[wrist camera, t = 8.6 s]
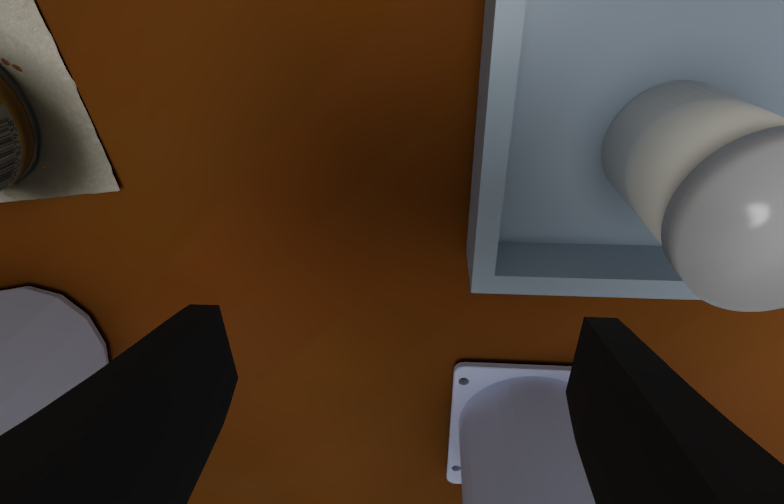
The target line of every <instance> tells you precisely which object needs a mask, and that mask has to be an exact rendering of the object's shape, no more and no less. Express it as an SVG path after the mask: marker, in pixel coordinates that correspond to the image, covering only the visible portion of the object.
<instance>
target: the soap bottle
mask: <svg viewBox="0 0 784 504" xmlns="http://www.w3.org/2000/svg"><path fill="white" fill-rule="evenodd" d="M108 363H109V361H108V355H107V348H106V343H105V341H104V340H103V338H102V336H101V335H100V333H99V331H98V330H97V328H96V327H95V325H94V323H93V322H92V320H91V318H90V317H89V315H88V314H86V313H85V312H84V311H82V310H81V309H80V308H79V307H77V306H76V305H75V304H73V303H72V302H71V301H69V300H68V299H67V298H65V297H64V296H63V295H61V294H57V293H54V292H50V291H46V290H42V289H39V288H35V287H31V286H26V287H20V288H13V289H7V290H1V291H0V435H2V434H3V433H5V432H7V431H8V430H10V429H11V428H13V427H15V426H16V425H18V424H19V423H21V422H23V421H24V420H26V419H27V418H29V417H30V416H32V415H34V414H35V413H37V412H38V411H39V410H41V409H42V408H44V407H45V406H47V405H48V404H50V403H51V402H53V401H54V400H56V399H57V398H59V397H60V396H62V395H63V394H65V393H66V392H68V391H69V390H71V389H72V388H73V387H75V386H76V385H78V384H79V383H81V382H82V381H84V380H85V379H87V378H88V377H90V376H91V375H93V374H94V373H95V372H97V371H98V370H100V369H101V368H102V367H104V366H105V365H106V364H108Z"/></svg>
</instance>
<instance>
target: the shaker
mask: <svg viewBox="0 0 784 504" xmlns="http://www.w3.org/2000/svg"><path fill="white" fill-rule="evenodd" d="M602 166H603V169H604V173H605V175H606V177H607V179H608V180H609V182H610V183H611V185H612V186H613V187H614V188H615V189H616V191H617V192H618V193H619V194H620V195H621V197H622V198H623V199H624V200H625V202H626V203H627V204H628V205H629V206H630V208H631V209H632V210H633V211H634V212H635V214H636V215H637V216H638V217H639V218H640V220H641V221H642V222H643V223H644V224H645V226H646V227H647V228H648V229H649V231H650V232H651V233H652V234H653V235H654V237H655V238H656V239H657V240H658V241H659V243H660V244H661V245H662V248H663V251H664V254H665V256H666V258H667V260H668V262H669V263H670V265H671V266H672V268H673V269H674V270H675V271H676V273H677V274H678V275H679V276H680V278H681V279H682V280H683V281H684V283H685V284H686V285H687V286H688V288H689V289H690V290H691V291H692V292H693V293H694V294H695V295H696V296H698V297H699V298H701V299H702V300H704V301H705V302H707V303H709V304H711V305H714V306H717V307H720V308H723V309H727V310H733V311H743V312H759V311H768V310H775V309H780V308H784V117H782V116H780V115H777V114H775V113H773V112H770V111H768V110H766V109H764V108H761V107H759V106H757V105H754V104H752V103H750V102H748V101H745V100H743V99H741V98H738V97H736V96H734V95H732V94H729V93H727V92H725V91H722V90H720V89H718V88H716V87H713V86H711V85H708V84H706V83H703V82H699V81H694V80H678V81H672V82H667V83H664V84H660V85H657V86H655V87H653V88H651V89H648V90H647V91H645V92H643V93H641V94H640V95H638V96H637V97H636V98H634V99H633V100H632V101H630V102H629V103H628V104H627V105H626V106H625V107H624V108H623V109H622V110H621V111H620V112H619V113H618V115H617V116H616V118H615V119H614V120H613V122H612V124H611V125H610V127H609V129H608V131H607V133H606V136H605V139H604V142H603V147H602Z"/></svg>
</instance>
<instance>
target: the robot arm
mask: <svg viewBox="0 0 784 504" xmlns="http://www.w3.org/2000/svg"><path fill="white" fill-rule="evenodd" d="M461 378H467V379H461ZM237 380H238V376H237V372H236V368H235V364H234V360H233V357H232V353H231V349H230V345H229V341H228V338H227V334H226V330H225V326H224V323H223V319H222V315H221V311H220V307H219V305H192V304H190V305H188V306H187V307H185V308H184V309H182V310H181V311H179V312H178V313H176V314H175V315H174V316H172V317H171V318H169V319H168V320H167V321H165V322H164V323H162V324H161V325H160V326H158V327H157V328H156V329H154V330H153V331H152V332H150V333H149V334H148V335H146V336H145V337H143V338H142V339H141V340H139V341H138V342H137V343H135V344H134V345H133V346H131V347H130V348H128V349H127V350H126V351H124V352H123V353H122V354H120V355H119V356H117V357H116V358H115V359H113V360H112V361H111V362H109V363H108V364H106V365H105V366H104V367H102V368H101V369H100V370H98V371H97V372H95V373H94V374H93V375H91V376H90V377H88V378H87V379H85V380H84V381H82V382H81V383H79V384H78V385H76V386H75V387H73V388H72V389H71V390H69V391H68V392H66V393H65V394H63V395H62V396H60V397H59V398H57V399H56V400H54V401H53V402H51V403H50V404H48V405H47V406H45V407H44V408H42V409H41V410H39V411H38V412H37V413H35V414H34V415H32V416H30V417H29V418H27V419H26V420H24V421H23V422H21V423H19V424H18V425H16V426H15V427H13V428H11V429H10V430H8V431H7V432H5V433H3V434H2V435H0V504H187V502H188V500H189V498H190V496H191V493H192V491H193V489H194V487H195V485H196V483H197V481H198V479H199V476H200V474H201V472H202V470H203V468H204V466H205V464H206V461H207V459H208V457H209V455H210V453H211V451H212V448H213V446H214V444H215V442H216V440H217V437H218V435H219V433H220V431H221V428H222V426H223V424H224V421H225V418H226V415H227V412H228V409H229V406H230V403H231V400H232V396H233V393H234V390H235V386H236V383H237ZM447 480H448V481H449V482H451V483H455V484H462V501H463V504H784V465H783V464H782V463H781V462H779V461H778V460H777V459H776V458H774V457H773V456H772V455H771V454H769V453H768V452H767V451H766V450H765V449H763V448H762V447H761V446H760V445H758V444H757V443H756V442H755V441H754V440H752V439H751V438H750V437H749V436H747V435H746V434H745V433H744V432H743V431H741V430H740V429H739V428H738V427H737V426H735V425H734V424H733V423H732V422H731V421H730V420H728V419H727V418H726V417H725V416H724V415H723V414H721V413H720V412H719V411H718V410H717V409H716V408H714V407H713V406H712V405H711V404H710V403H709V402H708V401H707V400H705V399H704V398H703V397H702V396H701V395H700V394H699V393H698V392H696V391H695V390H694V389H693V388H692V387H691V386H690V385H689V384H688V383H687V382H685V381H684V380H683V379H682V378H681V377H680V376H679V375H678V374H677V373H676V372H675V371H673V370H672V369H671V368H670V367H669V366H668V365H667V364H666V363H665V362H664V361H663V360H662V359H661V358H660V357H659V356H657V355H656V354H655V353H654V352H653V351H652V350H651V349H650V348H649V347H648V346H647V345H646V344H645V343H644V342H643V341H642V340H640V339H639V338H638V337H637V336H636V335H635V334H634V333H633V332H632V331H631V330H630V329H629V328H628V327H627V326H625V325H624V324H623V323H622V322H621V321H620V320H619V319H617V318H596V317H584V320H583V324H582V328H581V332H580V336H579V340H578V344H577V348H576V352H575V356H574V360H573V364H572V366H553V365H529V364H504V363H480V362H460V363H458V364H456V365H455V367H454V374H453V388H452V402H451V417H450V431H449V445H448V459H447Z"/></svg>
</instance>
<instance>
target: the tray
mask: <svg viewBox="0 0 784 504" xmlns="http://www.w3.org/2000/svg"><path fill="white" fill-rule="evenodd" d="M678 80H694V81H699V82H703V83H706V84H708V85H711V86H713V87H716V88H718V89H720V90H722V91H725V92H727V93H729V94H732V95H734V96H736V97H738V98H741V99H743V100H745V101H748V102H750V103H752V104H754V105H757V106H759V107H761V108H764V109H766V110H768V111H770V112H773V113H775V114H777V115H780V116H782V117H784V0H485V9H484V23H483V36H482V49H481V62H480V76H479V89H478V102H477V115H476V129H475V142H474V155H473V169H472V182H471V195H470V208H469V222H468V235H467V248H466V254H467V263H468V272H469V280H470V289H471V293H489V294H521V295H554V296H587V297H620V298H652V299H685V300H702V299H701V298H699V297H698V296H696V295H695V294H694V293H693V292H692V291H691V290H690V289H689V288H688V286H687V285H686V284H685V283H684V281H683V280H682V279H681V278H680V276H679V275H678V274H677V273H676V271H675V270H674V269H673V268H672V266H671V265H670V263H669V262H668V260H667V258H666V256H665V254H664V251H663V248H662V245H661V244H660V243H659V241H658V240H657V239H656V238H655V237H654V235H653V234H652V233H651V232H650V231H649V229H648V228H647V227H646V226H645V224H644V223H643V222H642V221H641V220H640V218H639V217H638V216H637V215H636V214H635V212H634V211H633V210H632V209H631V208H630V206H629V205H628V204H627V203H626V202H625V200H624V199H623V198H622V197H621V195H620V194H619V193H618V192H617V191H616V189H615V188H614V187H613V186H612V185H611V183H610V182H609V180H608V179H607V177H606V175H605V173H604V169H603V166H602V147H603V142H604V139H605V136H606V133H607V131H608V129H609V127H610V125H611V124H612V122H613V120H614V119H615V118H616V116H617V115H618V113H619V112H620V111H621V110H622V109H623V108H624V107H625V106H626V105H627V104H628V103H629V102H630V101H632V100H633V99H634V98H636V97H637V96H638V95H640V94H641V93H643V92H645V91H647V90H648V89H651V88H653V87H655V86H657V85H660V84H664V83H667V82H672V81H678Z"/></svg>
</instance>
